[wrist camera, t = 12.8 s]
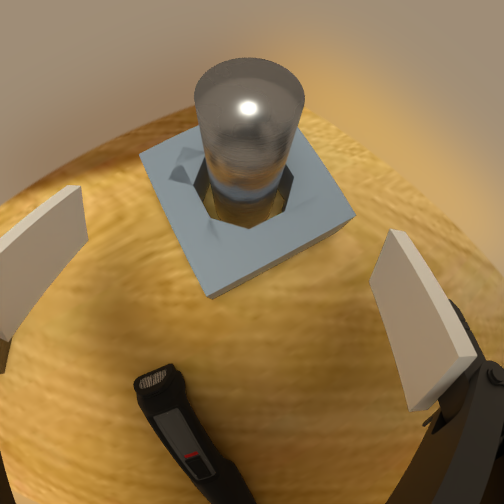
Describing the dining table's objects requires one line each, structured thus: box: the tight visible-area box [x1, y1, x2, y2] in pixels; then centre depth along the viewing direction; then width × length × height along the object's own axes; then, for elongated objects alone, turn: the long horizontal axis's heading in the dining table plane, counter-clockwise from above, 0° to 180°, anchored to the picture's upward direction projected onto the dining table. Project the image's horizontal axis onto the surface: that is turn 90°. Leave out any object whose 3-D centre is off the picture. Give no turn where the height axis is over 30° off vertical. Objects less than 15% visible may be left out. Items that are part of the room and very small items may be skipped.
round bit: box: [194, 58, 305, 229], centre depth 16 cm, size 4×4×12 cm
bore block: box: [139, 125, 356, 299], centre depth 20 cm, size 10×10×4 cm
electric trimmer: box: [133, 364, 256, 504], centre depth 17 cm, size 4×16×3 cm, turn 26°
